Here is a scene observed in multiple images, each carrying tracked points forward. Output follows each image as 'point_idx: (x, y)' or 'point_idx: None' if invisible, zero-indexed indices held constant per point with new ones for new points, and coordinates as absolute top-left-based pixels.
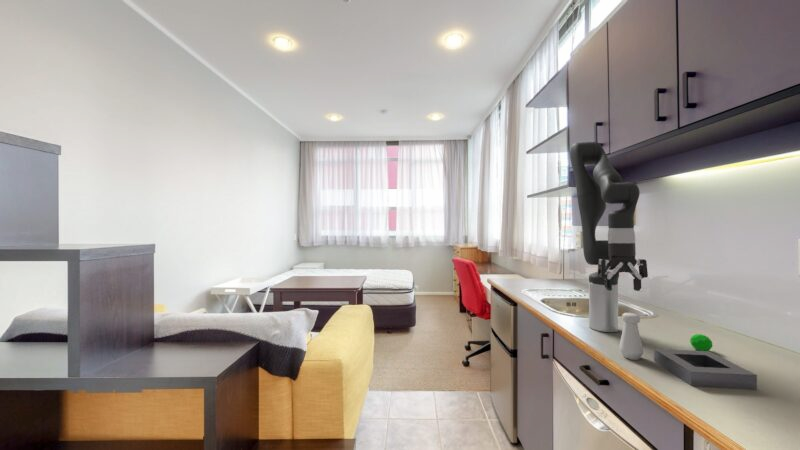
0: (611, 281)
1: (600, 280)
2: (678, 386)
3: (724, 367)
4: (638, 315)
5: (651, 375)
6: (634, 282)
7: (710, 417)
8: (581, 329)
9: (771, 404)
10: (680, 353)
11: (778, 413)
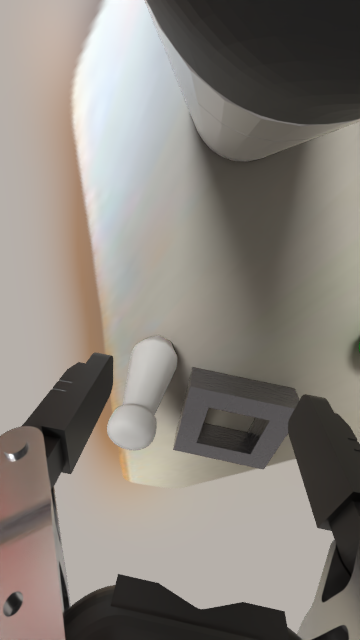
0: (78, 455)
1: (167, 14)
2: (157, 427)
3: (254, 442)
4: (150, 442)
5: None
6: (323, 463)
7: (138, 464)
8: (138, 99)
9: (232, 464)
10: (225, 409)
11: (218, 472)
